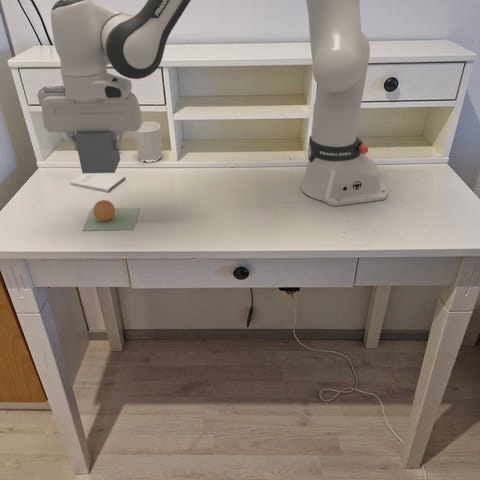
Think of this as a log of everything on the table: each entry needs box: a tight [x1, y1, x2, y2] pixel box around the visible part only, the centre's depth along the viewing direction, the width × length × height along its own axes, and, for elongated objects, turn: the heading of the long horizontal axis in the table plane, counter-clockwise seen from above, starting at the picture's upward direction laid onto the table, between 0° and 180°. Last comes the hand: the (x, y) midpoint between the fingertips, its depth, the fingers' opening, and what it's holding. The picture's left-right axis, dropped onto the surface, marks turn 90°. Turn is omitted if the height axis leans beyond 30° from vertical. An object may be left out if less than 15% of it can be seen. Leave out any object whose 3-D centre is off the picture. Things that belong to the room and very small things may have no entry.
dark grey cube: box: [74, 131, 121, 174], centre depth 103 cm, size 7×7×9 cm
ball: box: [92, 199, 116, 221], centre depth 112 cm, size 5×5×5 cm
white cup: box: [133, 121, 163, 161], centre depth 139 cm, size 8×8×10 cm
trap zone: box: [81, 207, 141, 232], centre depth 113 cm, size 12×10×1 cm
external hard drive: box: [69, 173, 127, 194], centre depth 129 cm, size 2×8×12 cm
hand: (98, 149), depth 103 cm, fingers closed on dark grey cube, 7 cm apart
